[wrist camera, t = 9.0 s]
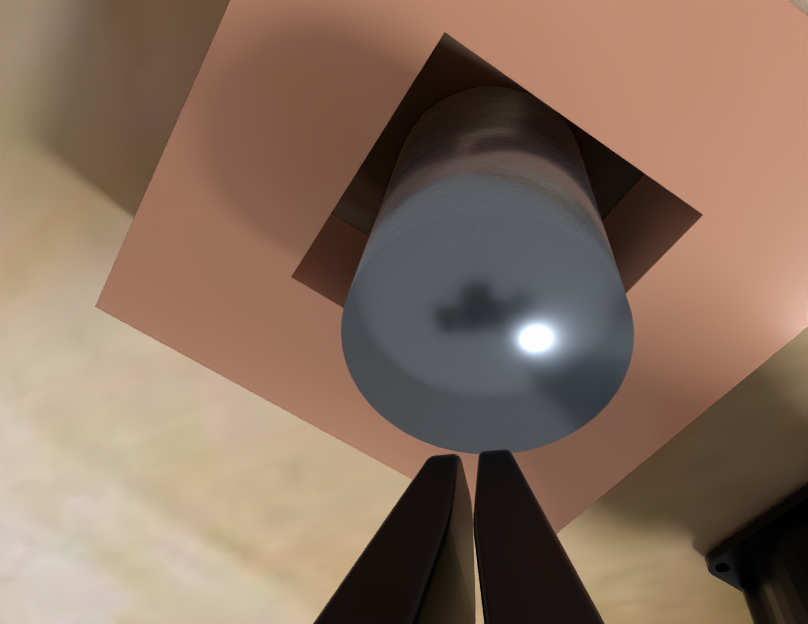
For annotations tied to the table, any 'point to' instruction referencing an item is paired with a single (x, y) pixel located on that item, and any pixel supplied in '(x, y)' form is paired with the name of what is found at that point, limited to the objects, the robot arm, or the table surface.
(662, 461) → the table surface
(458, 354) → the steel peg
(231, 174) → the hub block
